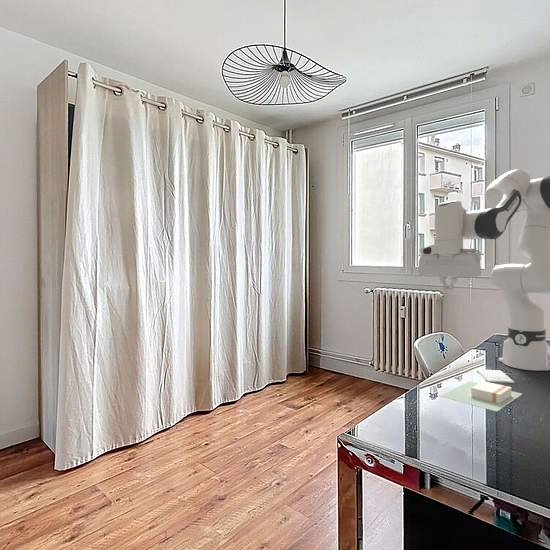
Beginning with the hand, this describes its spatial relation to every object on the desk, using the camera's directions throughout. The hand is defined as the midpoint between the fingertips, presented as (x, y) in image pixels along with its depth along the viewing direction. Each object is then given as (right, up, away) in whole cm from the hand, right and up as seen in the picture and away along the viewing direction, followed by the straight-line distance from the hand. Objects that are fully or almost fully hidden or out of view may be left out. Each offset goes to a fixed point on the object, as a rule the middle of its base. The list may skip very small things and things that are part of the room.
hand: (448, 290), depth 133 cm
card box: (+4, -30, -12) cm, 32 cm away
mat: (+4, -32, -13) cm, 35 cm away
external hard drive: (+18, -32, +4) cm, 36 cm away
